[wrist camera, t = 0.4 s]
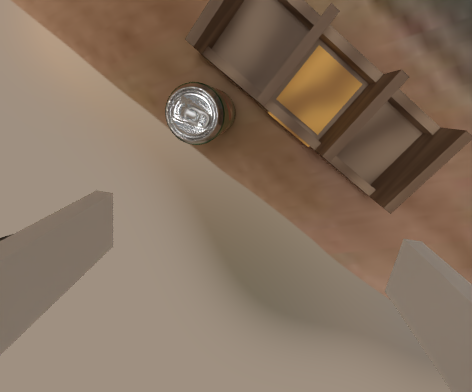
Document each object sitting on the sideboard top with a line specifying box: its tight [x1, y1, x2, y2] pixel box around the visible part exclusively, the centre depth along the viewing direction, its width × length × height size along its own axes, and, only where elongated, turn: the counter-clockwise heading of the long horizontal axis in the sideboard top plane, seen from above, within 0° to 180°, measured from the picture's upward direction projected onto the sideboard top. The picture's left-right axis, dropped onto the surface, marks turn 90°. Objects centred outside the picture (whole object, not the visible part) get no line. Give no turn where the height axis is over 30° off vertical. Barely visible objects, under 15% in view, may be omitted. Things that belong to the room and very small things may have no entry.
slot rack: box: [185, 0, 472, 214], centre depth 29 cm, size 26×10×7 cm, turn 51°
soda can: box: [165, 82, 235, 145], centre depth 28 cm, size 5×5×12 cm
